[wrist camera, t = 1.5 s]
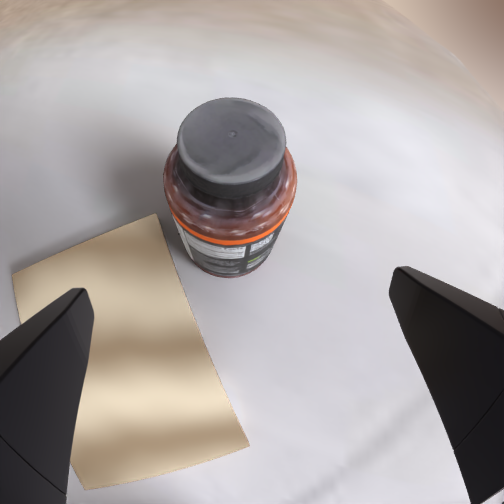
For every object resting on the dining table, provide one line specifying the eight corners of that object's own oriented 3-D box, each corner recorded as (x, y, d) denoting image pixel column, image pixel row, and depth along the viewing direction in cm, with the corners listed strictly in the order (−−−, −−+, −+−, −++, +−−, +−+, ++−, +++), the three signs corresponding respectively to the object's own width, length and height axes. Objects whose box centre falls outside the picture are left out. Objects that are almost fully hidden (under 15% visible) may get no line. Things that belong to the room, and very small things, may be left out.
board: (248, 441, 18) (249, 446, 17) (90, 485, 16) (84, 490, 15) (158, 218, 22) (155, 213, 21) (18, 277, 20) (11, 274, 19)
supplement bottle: (212, 183, 23) (208, 61, 12) (287, 221, 23) (337, 116, 12) (167, 253, 21) (118, 161, 10) (246, 297, 21) (271, 240, 10)
